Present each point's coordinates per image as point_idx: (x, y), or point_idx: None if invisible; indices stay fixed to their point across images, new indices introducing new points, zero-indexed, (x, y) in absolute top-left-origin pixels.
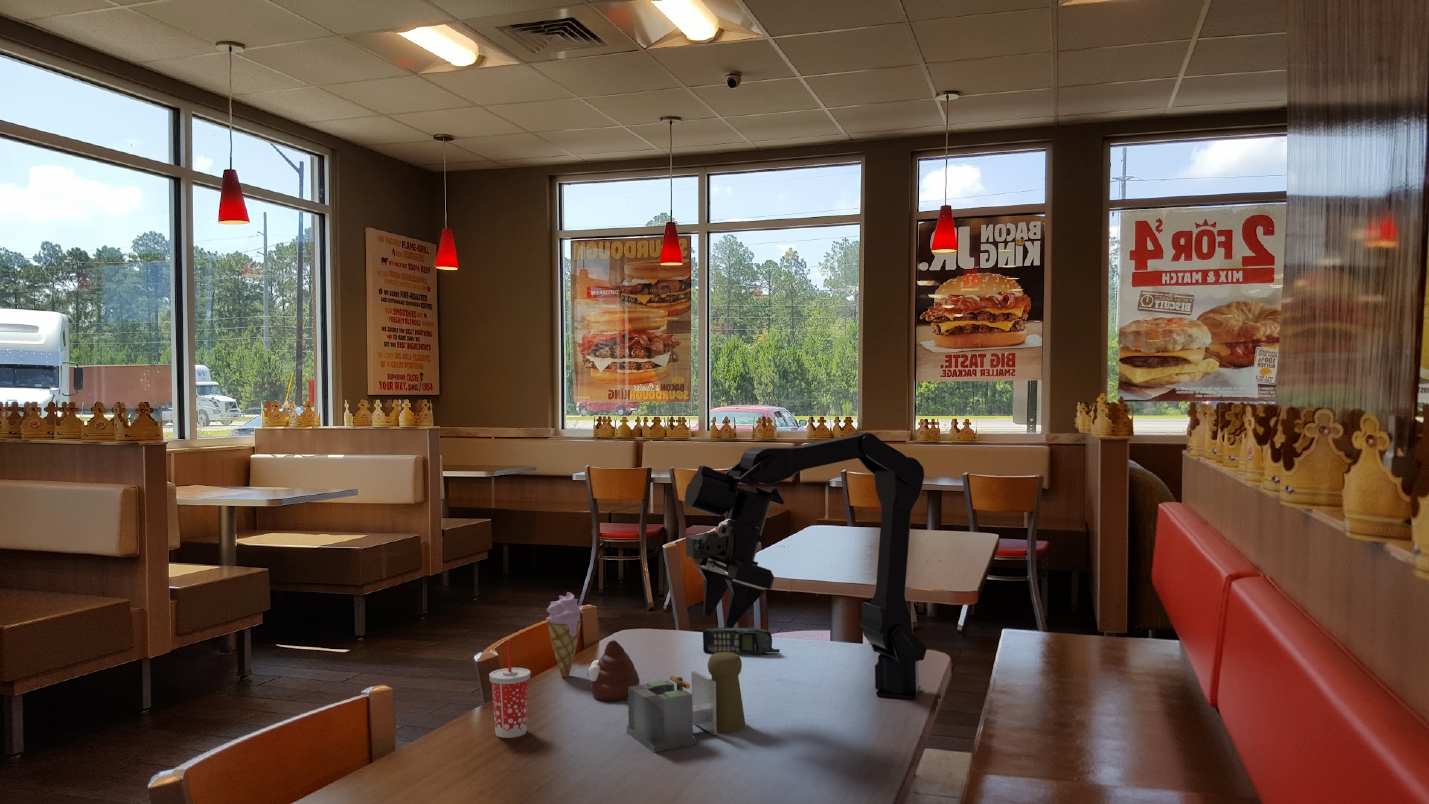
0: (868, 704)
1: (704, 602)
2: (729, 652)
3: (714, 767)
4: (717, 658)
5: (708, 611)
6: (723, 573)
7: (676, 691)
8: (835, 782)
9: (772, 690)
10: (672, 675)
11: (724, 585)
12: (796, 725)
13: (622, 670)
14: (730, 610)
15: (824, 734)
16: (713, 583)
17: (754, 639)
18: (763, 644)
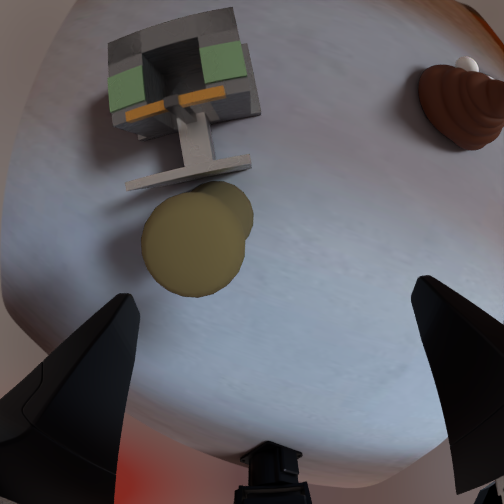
0: (243, 426)
1: (462, 303)
2: (200, 276)
3: (60, 153)
4: (159, 219)
5: (422, 301)
6: (500, 479)
7: (136, 92)
8: (14, 276)
9: (366, 349)
10: (221, 91)
11: (463, 445)
12: (183, 326)
13: (459, 99)
14: (63, 347)
15: (137, 341)
16: (501, 411)
17: None
18: None
